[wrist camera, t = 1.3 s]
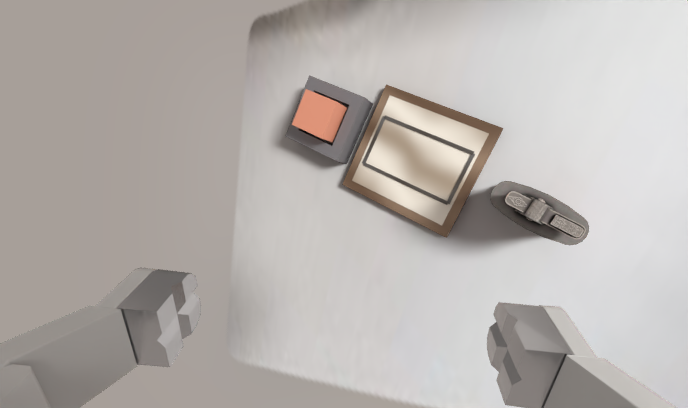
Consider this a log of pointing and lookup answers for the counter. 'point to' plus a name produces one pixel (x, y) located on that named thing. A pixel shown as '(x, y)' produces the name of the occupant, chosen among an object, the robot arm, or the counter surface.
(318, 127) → the button
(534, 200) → the lighter
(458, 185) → the board
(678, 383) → the counter surface
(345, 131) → the button housing
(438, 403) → the counter surface
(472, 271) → the counter surface
